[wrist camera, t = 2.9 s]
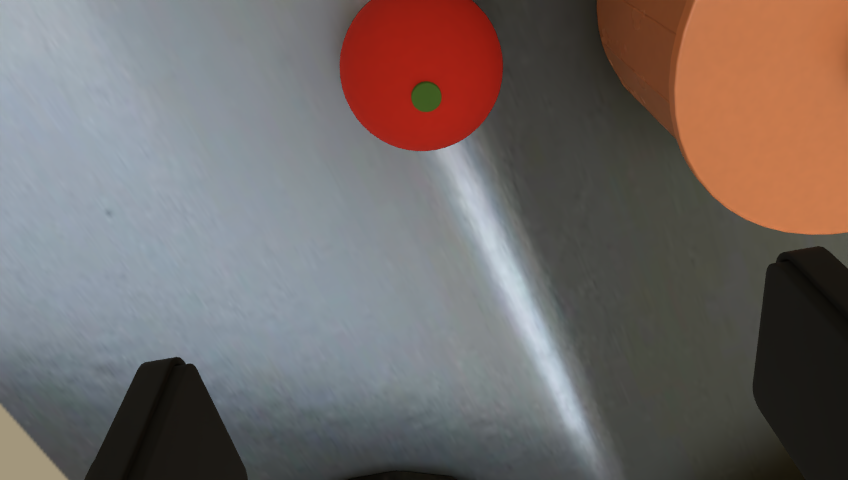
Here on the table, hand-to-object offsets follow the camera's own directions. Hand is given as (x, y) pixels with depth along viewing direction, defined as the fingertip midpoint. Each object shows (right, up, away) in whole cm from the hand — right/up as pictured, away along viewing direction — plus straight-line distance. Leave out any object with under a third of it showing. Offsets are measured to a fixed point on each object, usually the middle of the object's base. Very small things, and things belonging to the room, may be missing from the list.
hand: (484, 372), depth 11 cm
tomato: (-1, +10, +16) cm, 19 cm away
